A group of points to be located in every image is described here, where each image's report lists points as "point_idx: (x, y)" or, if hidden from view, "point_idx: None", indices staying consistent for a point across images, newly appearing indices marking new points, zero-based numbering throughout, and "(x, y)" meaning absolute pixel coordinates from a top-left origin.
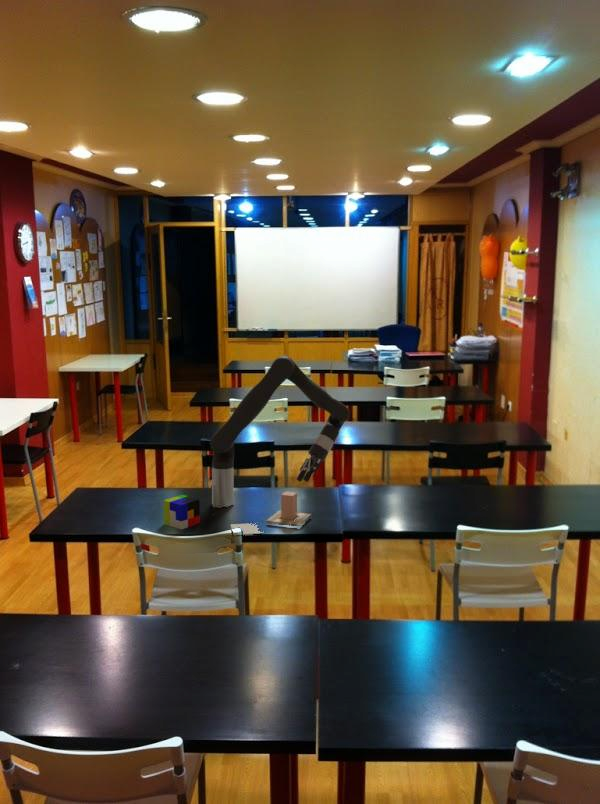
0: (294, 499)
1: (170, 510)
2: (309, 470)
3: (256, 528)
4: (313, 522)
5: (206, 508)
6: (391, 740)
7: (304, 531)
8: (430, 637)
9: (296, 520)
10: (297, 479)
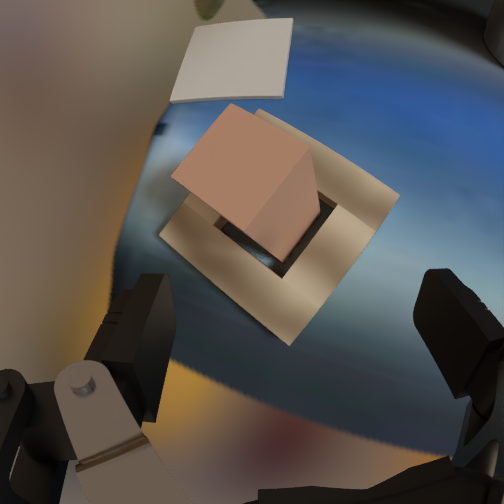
0: (211, 207)
1: None
2: (61, 381)
3: (222, 80)
4: (237, 335)
5: (475, 10)
6: None
7: (144, 254)
8: None
9: (214, 237)
10: (425, 275)
